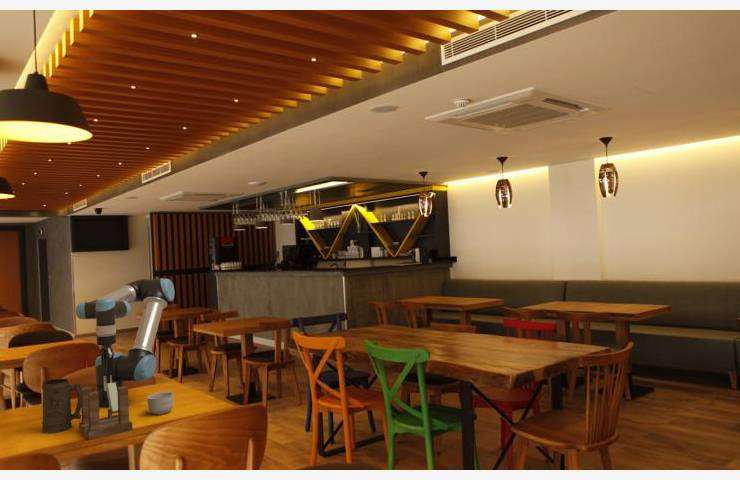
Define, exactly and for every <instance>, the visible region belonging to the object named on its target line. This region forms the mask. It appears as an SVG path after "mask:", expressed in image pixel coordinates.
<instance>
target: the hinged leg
mask: <svg viewBox="0 0 740 480" xmlns="http://www.w3.org/2000/svg"><path fill="white" fill-rule="evenodd" d="M106 390H107V396H108V401H109V407H108V408H109V409H111V410H112V415H113V414H118V395H117V387H116V382H115V383H109V384H107V386H106Z"/></svg>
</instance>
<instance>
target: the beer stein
mask: <svg viewBox="0 0 740 480" xmlns="http://www.w3.org/2000/svg"><path fill="white" fill-rule="evenodd" d="M81 388H82V387H81V383H80V382H79V383H78V382H77V383H75V384H73V385H71V384H70V380H69V379H68V378H55V379H49V380H46V381H42V384H41V389H42V422H41V424H42V427H41V431H42V433H46V434H54V433H61V432H66V431H67V430H70V429H71V428H72V426H73V425H72V424H73V423H72V420H74V419H76V420H81V419H82V414H81ZM71 391H75V392H76V395H77V403H76V407H75V410H74V412H73V413H72V403H71V402H72V401H71Z"/></svg>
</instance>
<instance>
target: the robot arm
mask: <svg viewBox="0 0 740 480" xmlns="http://www.w3.org/2000/svg"><path fill="white" fill-rule="evenodd" d="M175 293H176V292H175V286H174V283H173V282H172V280H171V279H169V278H162V277H161V278H142V279H137V280H134V281H131V282H128V283H126V284H123V285H121V286H120V287H119V288H118V289H117V290H114V291H112V292H110V293H108V294H105V295H102V296H100V297H98V298H96V299H94V300H92V301H84V302H79V303H78V304H77V305H76V307H75V316H76V317H77V318H78V319H80V320H95V321H96V322H95V325H96V327H95V328H94V331H95V332H96V335H97V336H96V345H97V346H101V348H100V350H99V353H100V354H99V355H100V356H98V357H96V359H95V365H94V368H95V385H96V386H95V387H96V388H95V391H97V392H98V393H99V408H110V407H109V401H108V396H107V390H106V386H107V384H109V383H115V382H116V387H117V388H118V387H123V386H124V382H132V381H133V382H142V381H148V380H149V379H151V378H152V377H153V375H154V374H155V372H156V368H157V359H156V357H155V354H154V352H153V347H154V343H155V340H156V336H157V332H158V328H159V324H160V321H161V317H162V314H163V310H164V309H165V308H167V306H168V303H169V302H172V301H173V300H175ZM137 302H138V303H139V302H140V303H143V304H144V308H143V312H142V315H141V319H140V322H139V326H138V329H137V331H136V337H135V339H134V343H133V347H131V348H129V349H128V352H127V355H123V353H122V352H121V351H117V352H114V350H113V348H112V345H114V344H116V343H117V335H116V333H117V329H116V326H117V325H116V320H117V319H123V318H125V317H127V316H129V315H130V314H131V312H132V311H131V309H132V306H131V305H130V304H131V303H137Z"/></svg>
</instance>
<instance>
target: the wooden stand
mask: <svg viewBox="0 0 740 480" xmlns="http://www.w3.org/2000/svg"><path fill="white" fill-rule="evenodd" d="M117 395H118V413H117V414H116V415H115V414H114V415H113V414H112V410H111V409H110V408H107V416H105V417H101V418H100V407H99V393H98V392H97V391H96V390H95V391H92V387H91V386H84V387H81V409H80V414H81V422H78V430H79V431H80V433H81V434H82V435H83V436H85V437H86V438H87V440H88V441H90V440H94V439H99V438H103V437H108V436H113V435H116V434H121V433H126V432H129V431H133V422H132V421H131V420H130V409H129V407H130V406H129V405H130V404H129V387H128V386H126V385H123V387H118V388H117Z"/></svg>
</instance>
